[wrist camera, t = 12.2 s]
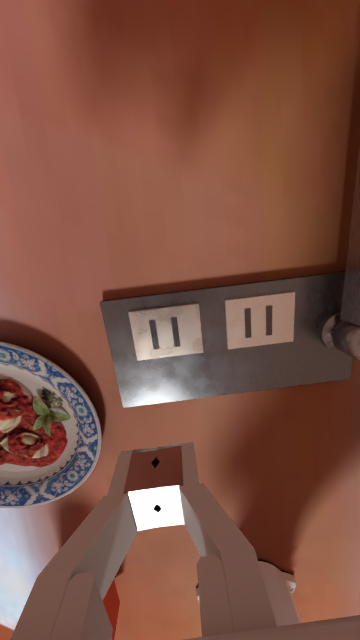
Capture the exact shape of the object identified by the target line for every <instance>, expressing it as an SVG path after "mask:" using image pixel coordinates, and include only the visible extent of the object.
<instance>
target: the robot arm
mask: <svg viewBox="0 0 360 640" xmlns="http://www.w3.org/2000/svg"><path fill="white" fill-rule="evenodd" d="M183 524H185V527H186V529H187V531H188V533H189V534H190V536H191V538H192V540H193V542H194V544H195V546H196V548H197V550H198V552H199V554H200V556H201V557H200V559H199V561H198V563H197V574H198V588H197V589H196V595H197V599H198V601H199V603H200V614H201V628H202V637H199V638H192V639H184V640H360V615H357V616H349V617H342V618H335V619H328V620H321V621H314V622H306V623H301V622H300V619H299V616H298V613H297V610H296V607H295V604H294V601H293V598H292V595H293V592H294V589H295V587H296V582H295V579H294V576H293V575H291V574H288V573H285V572H282V571H280V570H279V569H278V568H276V567H275V566H273V565H272V564H269V563H266V562H262V561H258V559H257V556H256V552H255V549H254V547H253V546H252V545H251V544H250V542H249V541H248V540H247V538H246V537H245V536H244V535H243V533H242V532H241V531H240V530H239V528H238V527H237V526H236V525H235V523H234V522H233V521H232V519H231V518H230V517H229V516H228V514H227V513H226V512H225V511H224V509H223V508H222V507H221V505H220V504H219V503H218V502H217V500H216V499H215V498H214V497H213V495H212V494H211V493H210V492H209V490H208V489H207V488H206V486H205V485H204V484H203V483H200V484H199V480H198V472H197V464H196V457H195V449H194V443H193V442H192V443H185V444H177V445H170V446H163V447H157V448H149V449H139V450H131V451H122V452H121V453H120V454H119V456H118V460H117V464H116V467H115V471H114V474H113V478H112V482H111V485H110V489H109V492H108V496H103V498H102V499H101V500H100V501H99V502H98V504H97V505H96V506H95V507H94V509H93V510H92V511H91V512H90V513H89V515H88V516H87V517H86V518H85V519H84V521H83V522H82V523H81V524H80V526H79V527H78V528H77V529H76V530H75V532H74V533H73V534H72V535H71V537H70V538H69V539H68V540H67V541H66V543H65V544H64V545H63V546H62V548H61V549H60V550H59V551H58V552H57V554H56V555H55V556H54V557H53V558H52V560H51V561H50V562H49V563H48V565H47V566H46V567H45V568H44V569H43V571H42V572H41V573H40V574H39V576H38V577H37V579H36V581H35V584H34V586H33V588H32V591H31V593H30V595H29V598H28V600H27V602H26V604H25V607H24V609H23V611H22V614H21V616H20V618H19V621H18V623H17V625H16V628H15V630H14V632H13V635H12V637H11V639H10V640H111V638H112V631H113V628H112V626H111V623H110V620H109V617H108V615H107V612H106V609H105V606H104V604H103V599H104V597H105V595H106V593H107V591H108V589H109V587H110V585H111V583H112V582H113V580H114V578H115V576H116V574H117V572H118V570H119V568H120V566H121V564H122V562H123V560H124V558H125V556H126V554H127V552H128V550H129V548H130V546H131V544H132V542H133V540H134V538H135V537H136V535H137V531H139V530H144V529H150V528H156V527H163V526H173V525H183Z"/></svg>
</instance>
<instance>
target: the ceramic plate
mask: <svg viewBox="0 0 360 640" xmlns="http://www.w3.org/2000/svg"><path fill="white" fill-rule="evenodd" d="M101 442H102V434H101V426H100V421H99V418H98V415H97V412H96V410H95V408H94V406H93V404H92V402H91V400H90V399H89V397H88V395H87V394H86V393H85V391H84V390H83V389H82V387H81V386H80V385H79V384H78V383H77V382H76V381H75V380H74V379H73V378H72V377H71V376H70V375H69V374H68V373H67V372H65V371H64V370H63V369H62V368H60V367H59V366H58V365H56V364H55V363H53V362H52V361H50V360H48V359H46V358H45V357H43V356H41V355H39V354H37V353H35V352H33V351H30V350H28V349H25V348H23V347H20V346H17V345H13V344H10V343H6V342H0V508H23V507H32V506H39V505H43V504H46V503H49V502H52V501H55V500H57V499H60V498H62V497H64V496H66V495H68V494H69V493H71V492H73V491H74V490H75V489H76V488H78V487H79V486H80V485H81V484H82V483H83V482H84V481H85V480H86V479H87V478H88V477H89V475H90V474H91V473H92V471H93V469H94V467H95V465H96V463H97V460H98V458H99V454H100V450H101Z"/></svg>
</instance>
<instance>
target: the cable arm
mask: <svg viewBox="0 0 360 640" xmlns="http://www.w3.org/2000/svg"><path fill="white" fill-rule="evenodd" d="M340 320H343V321H341V322H340V323H339V324H338V325H337V326H336V328H335V330H334V332H333V336H332V342H333V345H334V346H335V348H336V349H337V350H339V351H341V352H343V353H345V354H347V355H349V356H351V357H353V358H355V359H357V360H359V361H360V144H359V153H358V162H357V171H356V180H355V189H354V198H353V207H352V217H351V226H350V235H349V244H348V253H347V262H346V271H345V280H344V289H343V298H342V307H341V316H340Z"/></svg>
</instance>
